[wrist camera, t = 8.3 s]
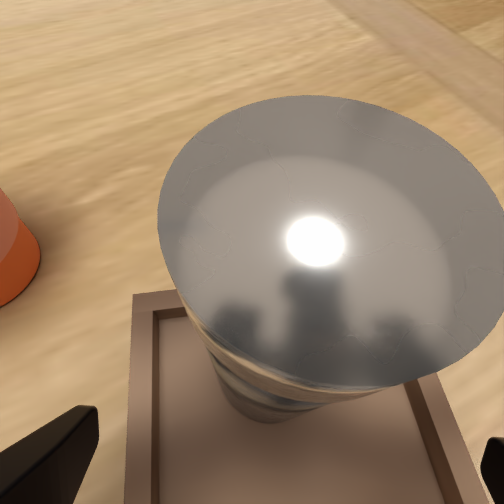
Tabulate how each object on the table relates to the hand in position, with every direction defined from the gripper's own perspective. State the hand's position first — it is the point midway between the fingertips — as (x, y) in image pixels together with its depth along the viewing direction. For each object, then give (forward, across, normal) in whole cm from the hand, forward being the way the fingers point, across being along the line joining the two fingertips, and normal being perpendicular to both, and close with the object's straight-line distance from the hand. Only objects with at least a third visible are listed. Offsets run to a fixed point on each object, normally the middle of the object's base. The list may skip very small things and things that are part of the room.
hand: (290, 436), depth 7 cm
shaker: (+8, 0, +4) cm, 9 cm away
